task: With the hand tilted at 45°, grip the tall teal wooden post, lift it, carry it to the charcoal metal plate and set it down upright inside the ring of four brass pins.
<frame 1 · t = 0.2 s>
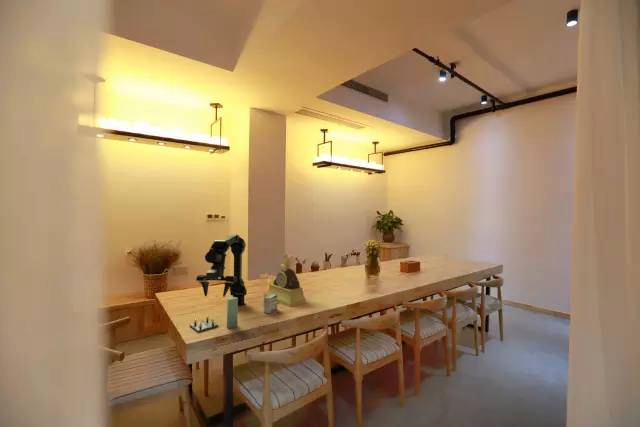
hand: (214, 296, 137), 15 cm above the table, tool tilted 15°, fingers open, 9 cm apart
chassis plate: (204, 326, 139), on the table
teal wooden post: (232, 326, 139), on the table
decorative clock: (284, 300, 183), on the table
medicine box: (270, 311, 162), on the table
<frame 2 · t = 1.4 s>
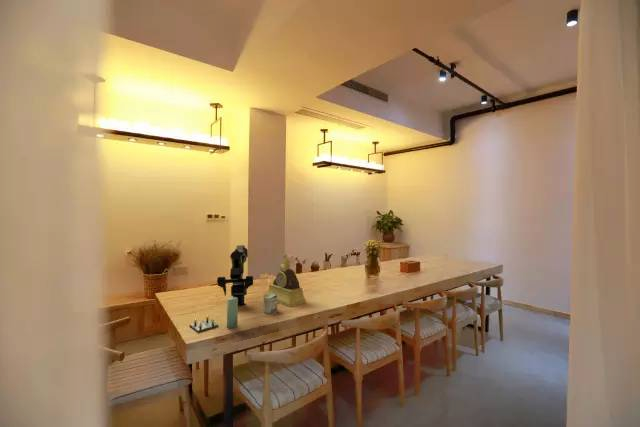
hand: (234, 295, 147), 13 cm above the table, tool tilted 45°, fingers open, 9 cm apart
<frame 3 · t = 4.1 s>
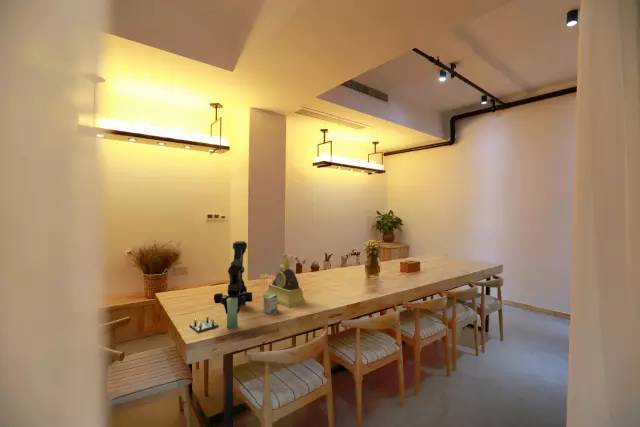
hand: (232, 313, 138), 7 cm above the table, tool tilted 45°, fingers closed on teal wooden post, 5 cm apart
teal wooden post: (232, 326, 139), on the table, touching gripper
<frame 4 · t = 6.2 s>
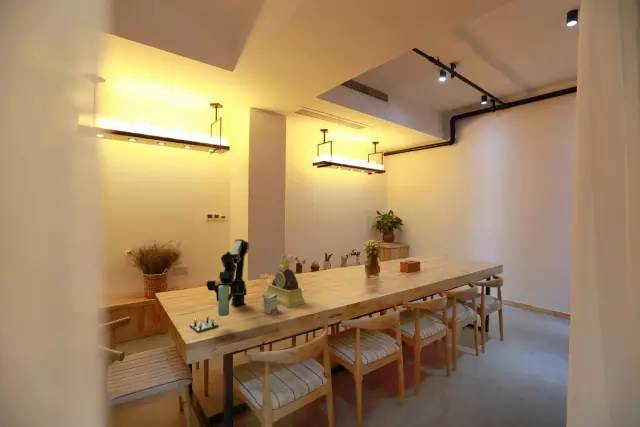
hand: (223, 300, 137), 13 cm above the table, tool tilted 45°, fingers closed on teal wooden post, 5 cm apart
teal wooden post: (223, 314, 138), point 6 cm above the table, touching gripper
when the fingers open (9 cm above the table, at t = 8.6 s): teal wooden post drops 1 cm, resting on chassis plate.
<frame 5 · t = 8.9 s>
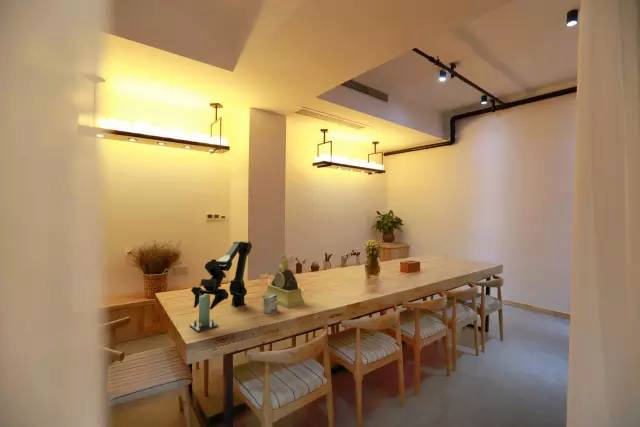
hand: (202, 308, 137), 10 cm above the table, tool tilted 45°, fingers open, 9 cm apart
teal wooden post: (204, 324, 139), point 1 cm above the table, touching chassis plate
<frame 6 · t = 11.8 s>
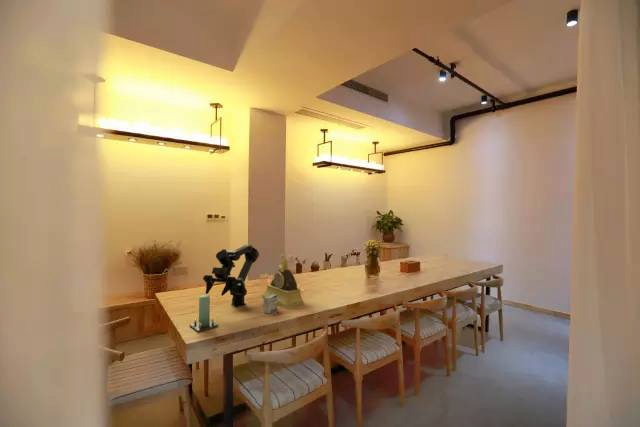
hand: (213, 294, 146), 14 cm above the table, tool tilted 45°, fingers open, 9 cm apart
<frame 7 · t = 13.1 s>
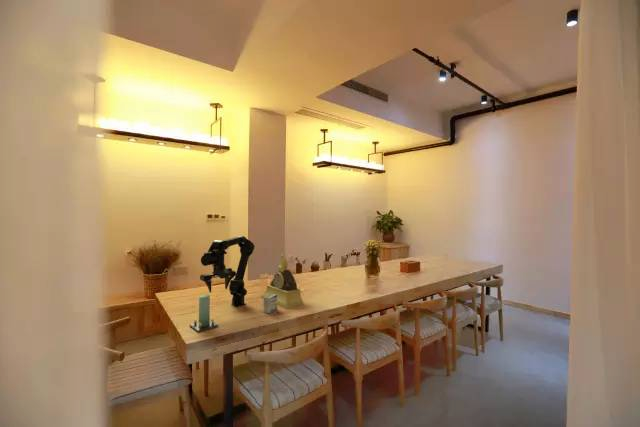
hand: (218, 290, 156), 13 cm above the table, tool pointing down, fingers open, 9 cm apart
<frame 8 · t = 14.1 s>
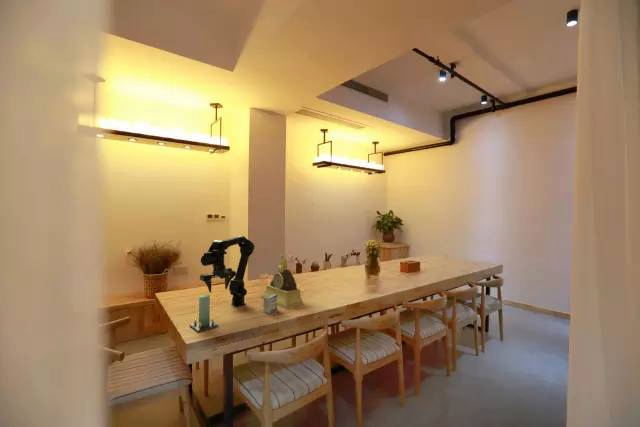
hand: (218, 290, 156), 13 cm above the table, tool pointing down, fingers open, 9 cm apart
at the end: teal wooden post 0.1 cm off-centre on the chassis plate, point 1.0 cm above the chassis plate's base; teal wooden post tilted 0°; the gripper is holding nothing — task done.
